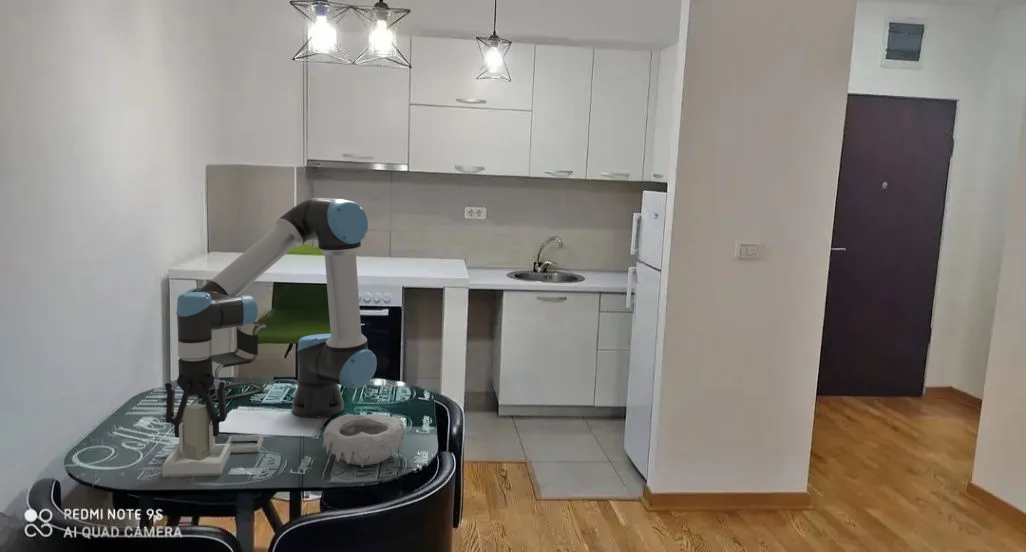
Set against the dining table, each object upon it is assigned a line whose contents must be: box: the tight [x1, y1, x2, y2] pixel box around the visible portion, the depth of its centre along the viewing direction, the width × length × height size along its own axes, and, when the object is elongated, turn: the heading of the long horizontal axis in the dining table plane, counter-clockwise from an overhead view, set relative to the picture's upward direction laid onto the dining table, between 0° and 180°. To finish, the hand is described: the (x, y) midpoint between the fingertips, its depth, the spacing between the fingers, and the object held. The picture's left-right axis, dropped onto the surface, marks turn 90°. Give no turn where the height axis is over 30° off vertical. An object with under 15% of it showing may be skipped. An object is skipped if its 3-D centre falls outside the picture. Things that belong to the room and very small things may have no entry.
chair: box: [209, 321, 267, 401], centre depth 244 cm, size 13×17×22 cm
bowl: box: [322, 413, 405, 468], centre depth 194 cm, size 21×20×10 cm
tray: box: [161, 443, 231, 478], centre depth 187 cm, size 13×13×3 cm
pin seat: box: [225, 434, 264, 454], centre depth 200 cm, size 8×8×2 cm
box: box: [183, 402, 212, 461], centre depth 186 cm, size 5×4×13 cm
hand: (197, 449), depth 186 cm, fingers closed on box, 6 cm apart
